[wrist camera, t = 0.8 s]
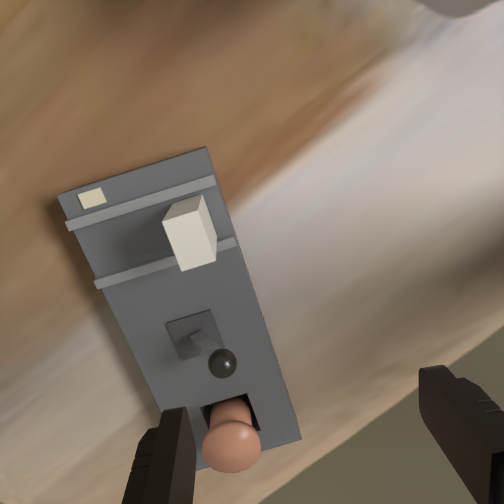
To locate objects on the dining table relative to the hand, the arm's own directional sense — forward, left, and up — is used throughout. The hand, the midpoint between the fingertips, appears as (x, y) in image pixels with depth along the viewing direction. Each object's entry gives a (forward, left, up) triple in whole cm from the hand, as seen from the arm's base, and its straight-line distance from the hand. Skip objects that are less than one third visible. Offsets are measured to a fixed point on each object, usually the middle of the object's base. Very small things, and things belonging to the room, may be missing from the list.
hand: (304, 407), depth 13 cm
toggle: (+8, +7, -20) cm, 22 cm away
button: (+8, +17, -21) cm, 28 cm away
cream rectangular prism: (+4, -3, -20) cm, 20 cm away
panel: (+8, +7, -23) cm, 25 cm away
